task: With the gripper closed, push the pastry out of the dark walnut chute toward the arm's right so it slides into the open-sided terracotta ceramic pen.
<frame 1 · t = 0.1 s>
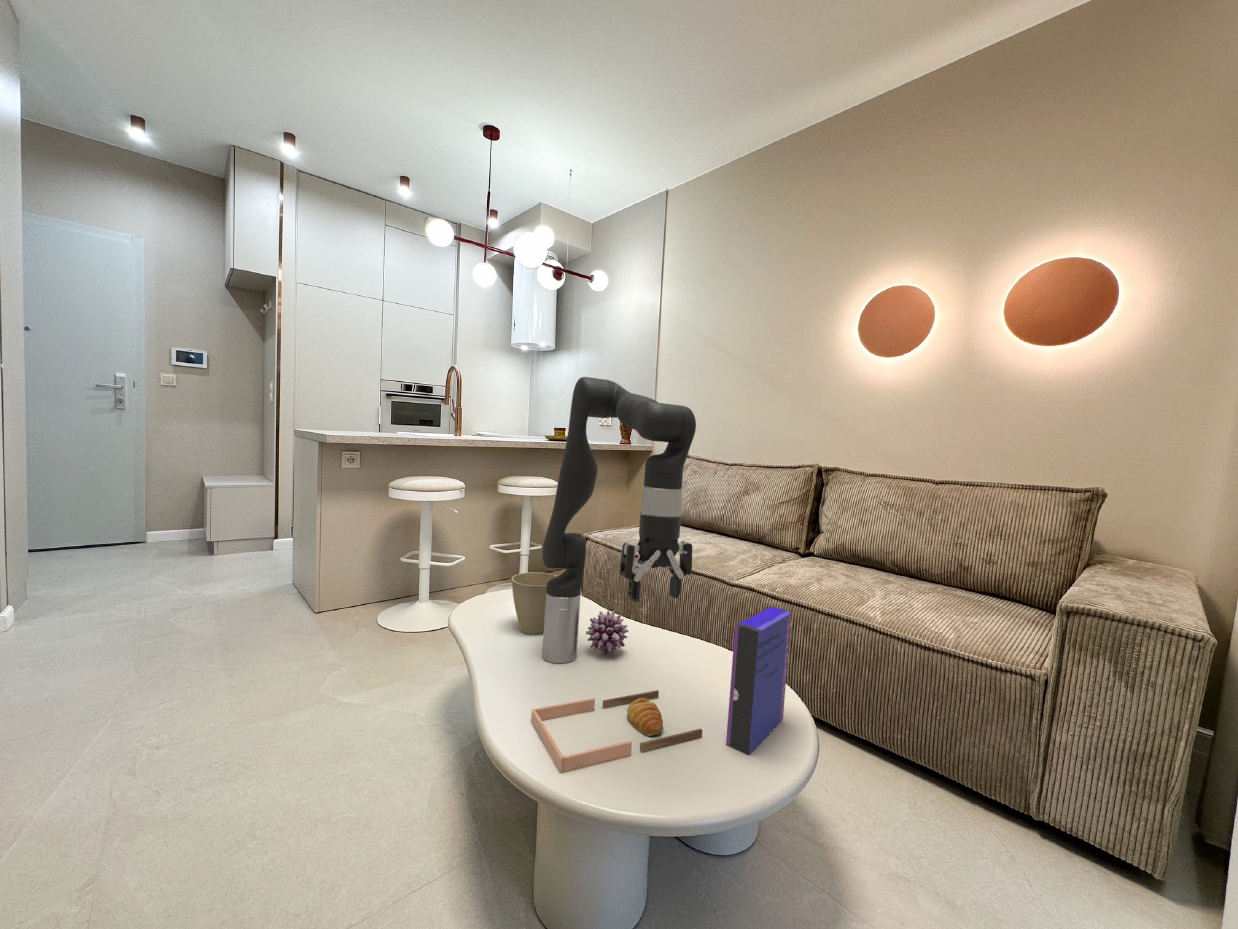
hand: (654, 599, 91), 29 cm above the table, fingers open, 8 cm apart
walnut chute: (649, 721, 103), on the table
plant pot: (533, 631, 149), on the table
cereal box: (755, 733, 102), on the table
pastry: (645, 724, 102), on the table
terracotta pen: (579, 737, 96), on the table
purple spiky ball: (605, 654, 136), on the table
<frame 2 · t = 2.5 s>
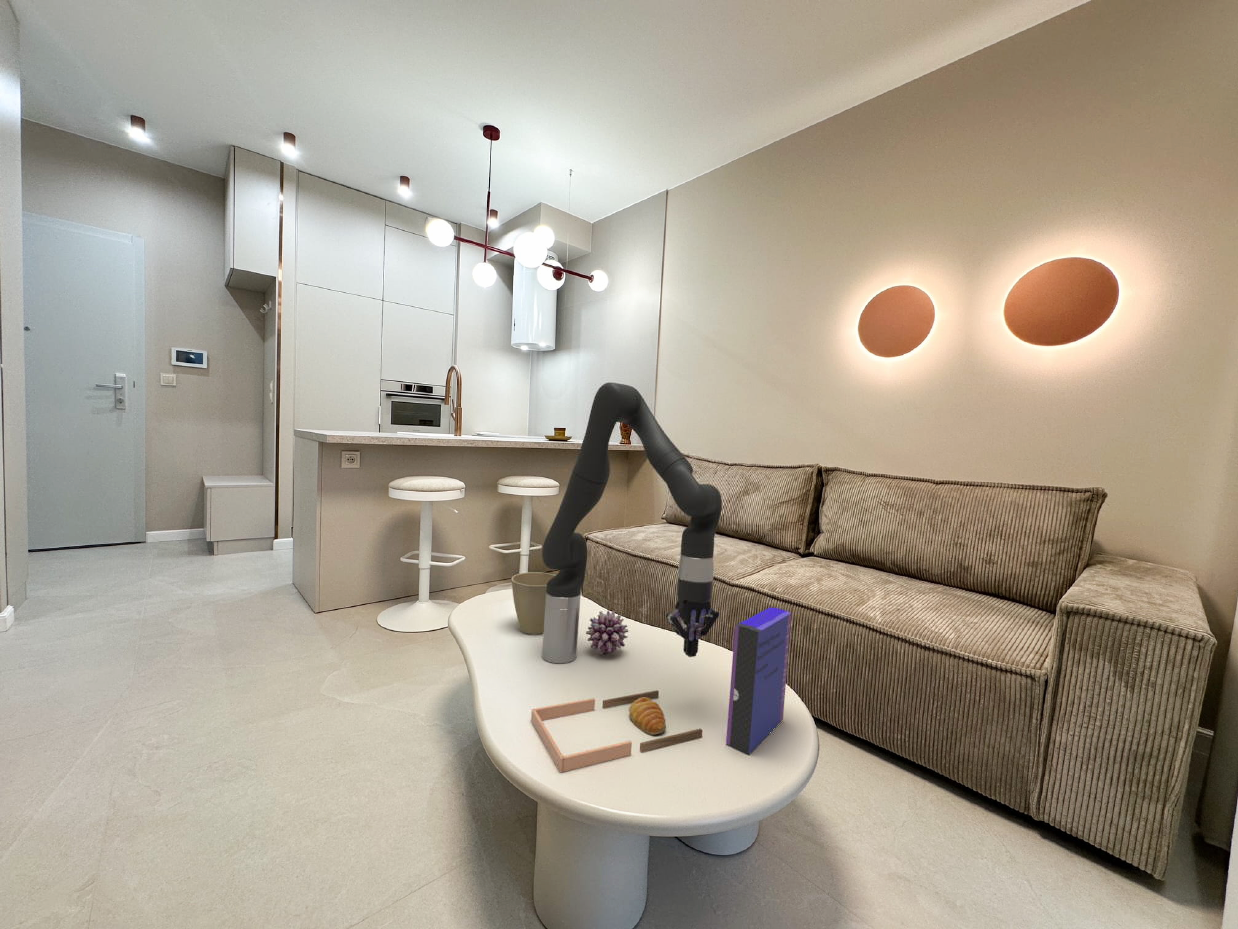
hand: (690, 655, 107), 13 cm above the table, fingers closed
nothing on the table moved.
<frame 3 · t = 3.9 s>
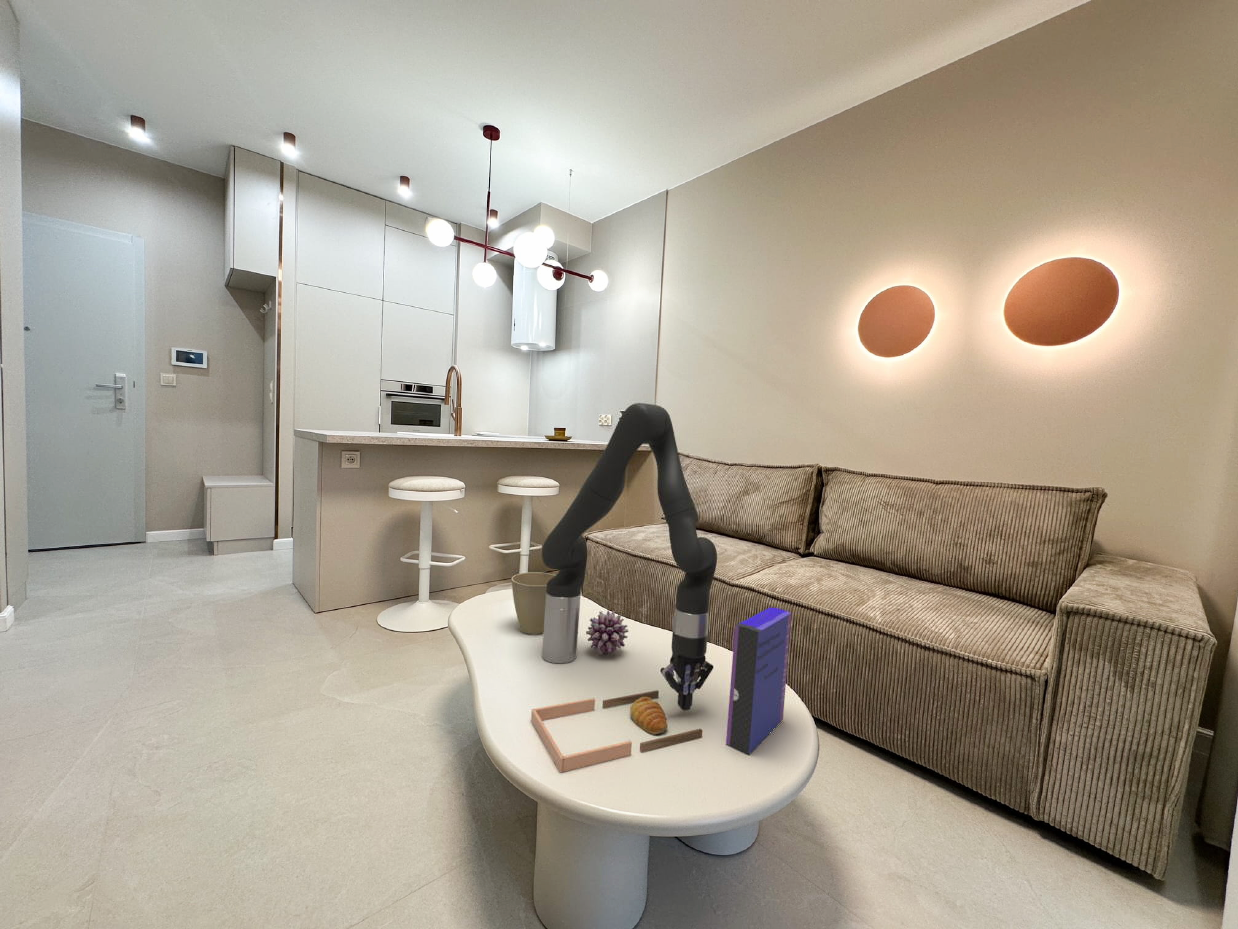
hand: (684, 708, 107), 1 cm above the table, fingers closed
nothing on the table moved.
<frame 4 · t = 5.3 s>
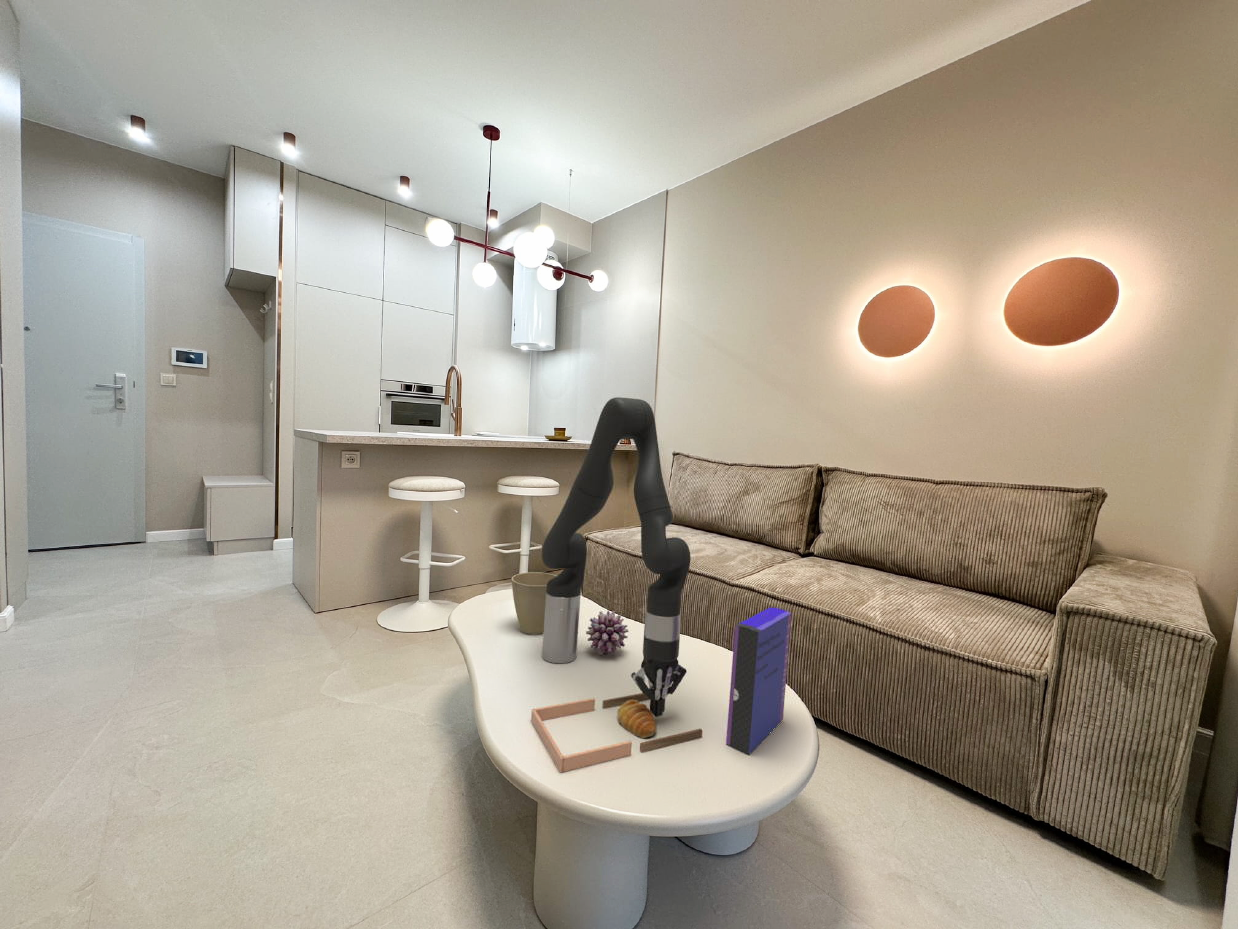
hand: (656, 714, 103), 1 cm above the table, fingers closed
pastry: (637, 726, 102), on the table, touching gripper
everything else where it was.
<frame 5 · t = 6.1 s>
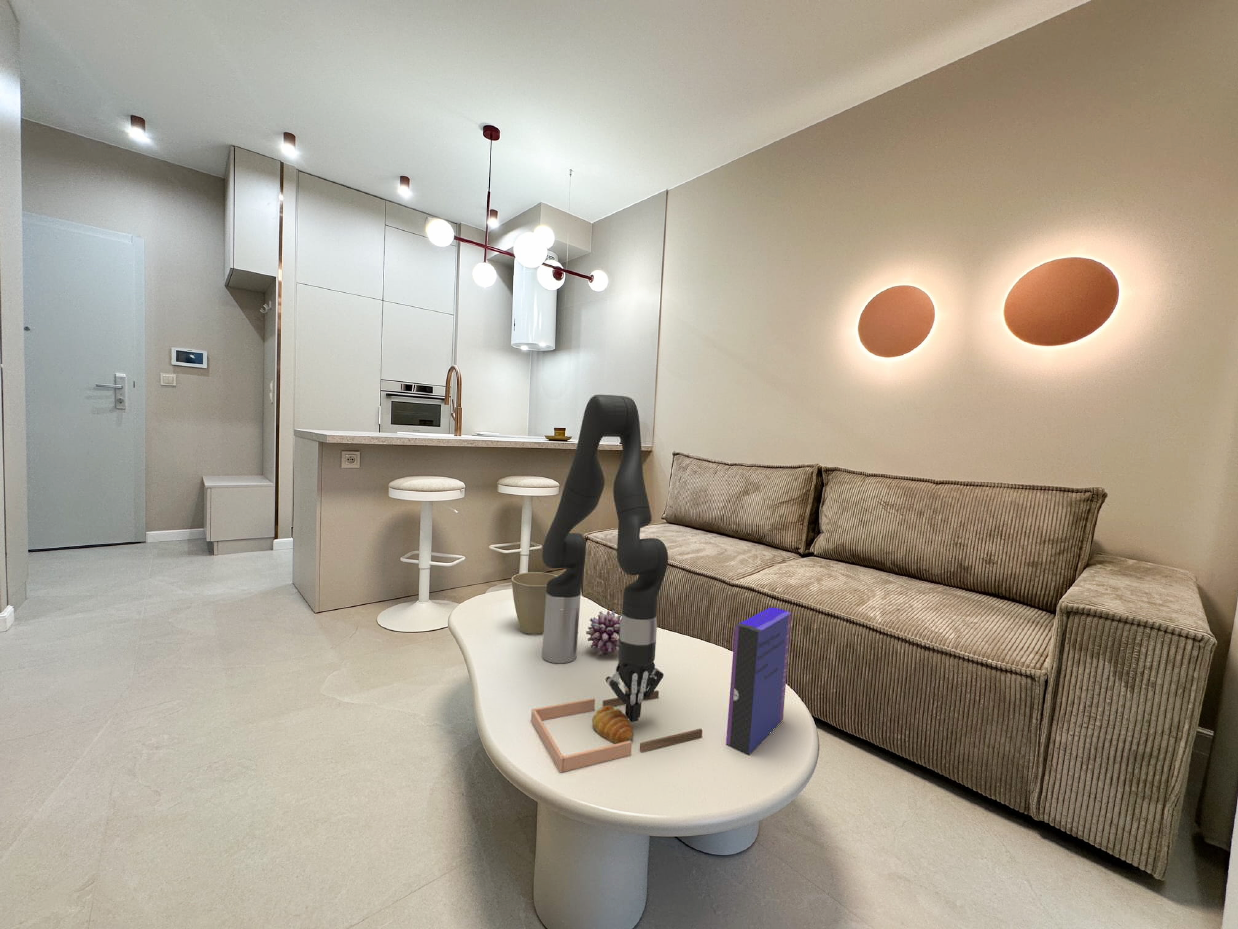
hand: (632, 719, 101), 1 cm above the table, fingers closed
pastry: (613, 733, 99), on the table, touching gripper
everything else where it was.
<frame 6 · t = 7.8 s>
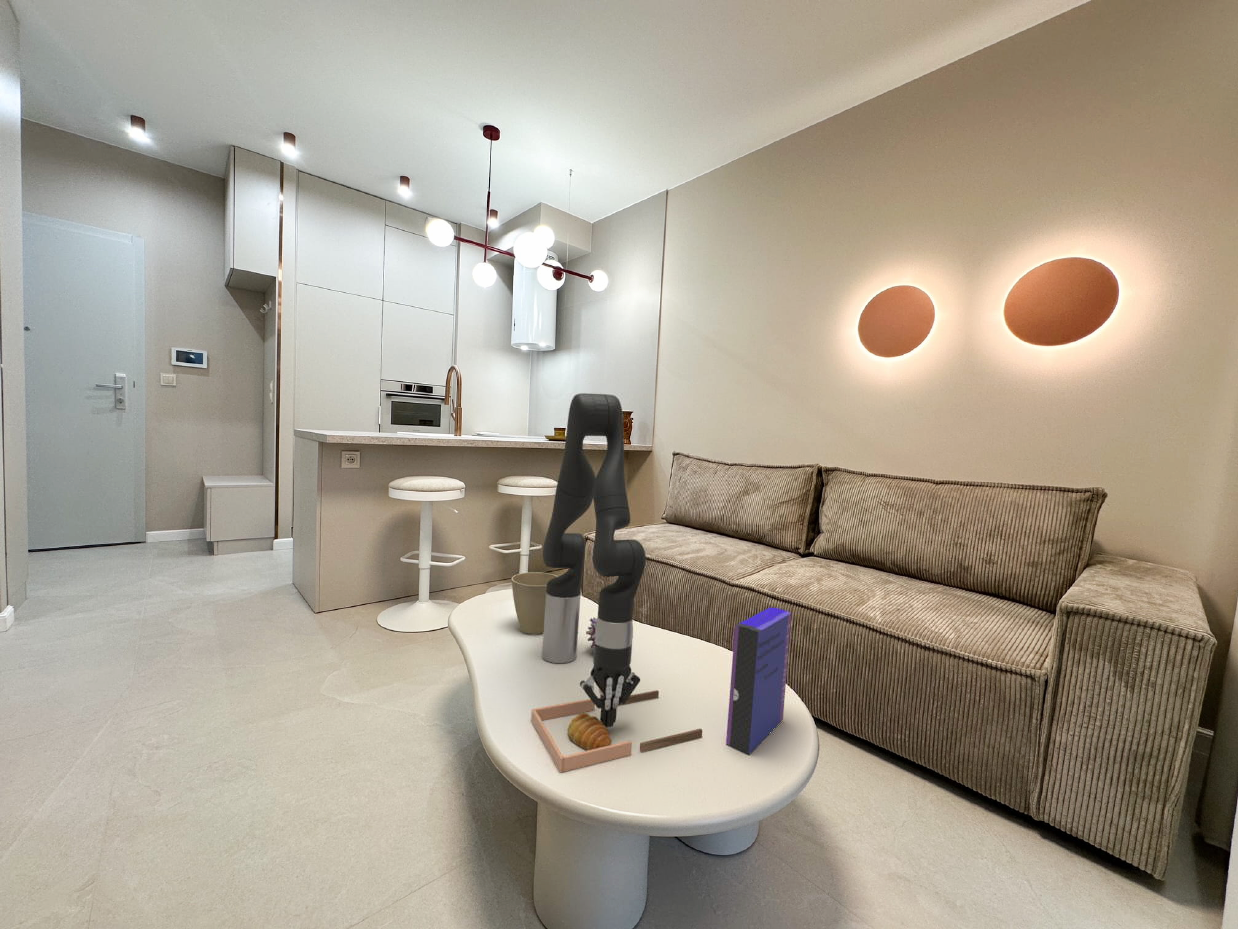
hand: (607, 725, 98), 1 cm above the table, fingers closed
pastry: (589, 741, 95), on the table
everything else where it was.
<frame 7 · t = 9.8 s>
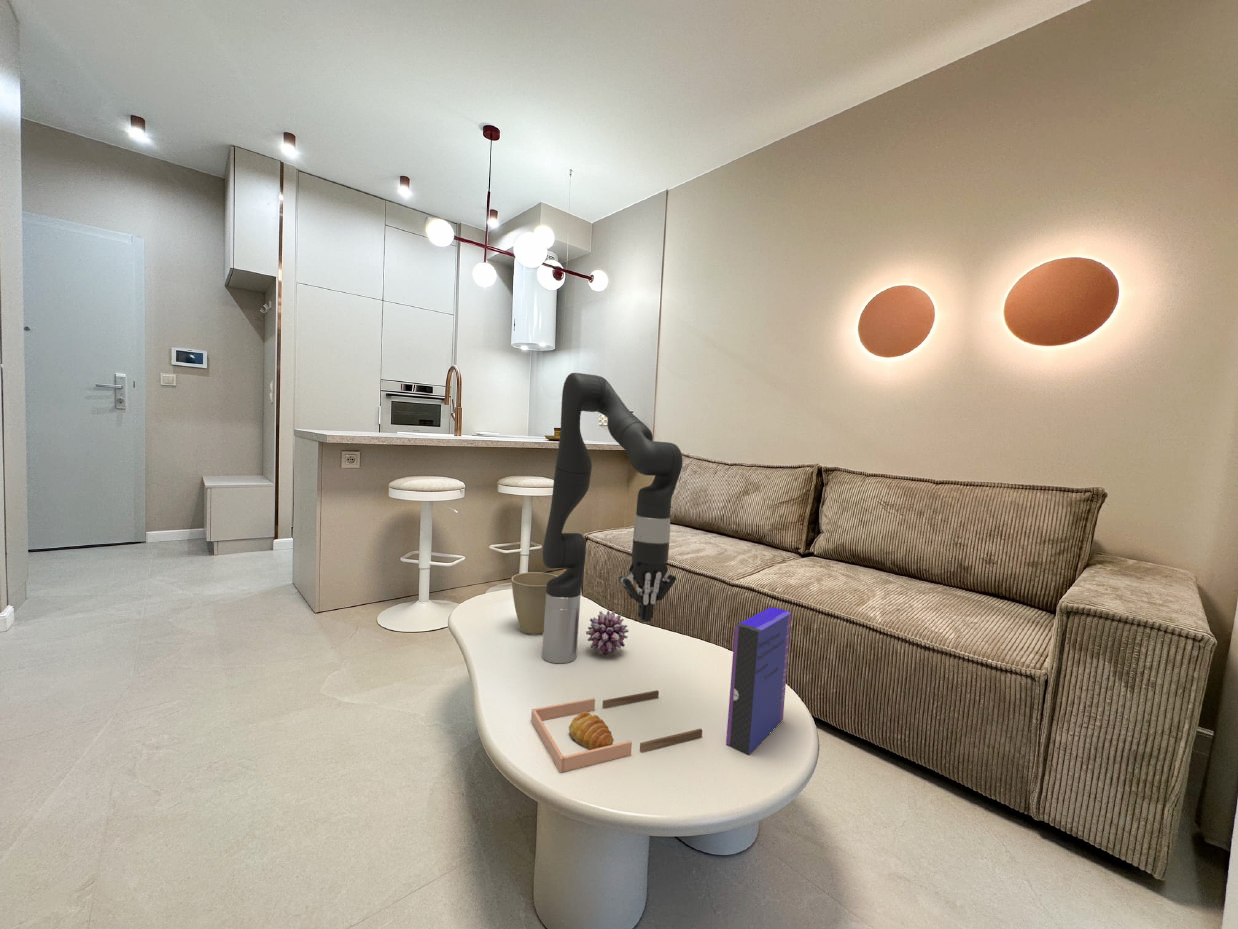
hand: (644, 620, 102), 21 cm above the table, fingers closed
nothing on the table moved.
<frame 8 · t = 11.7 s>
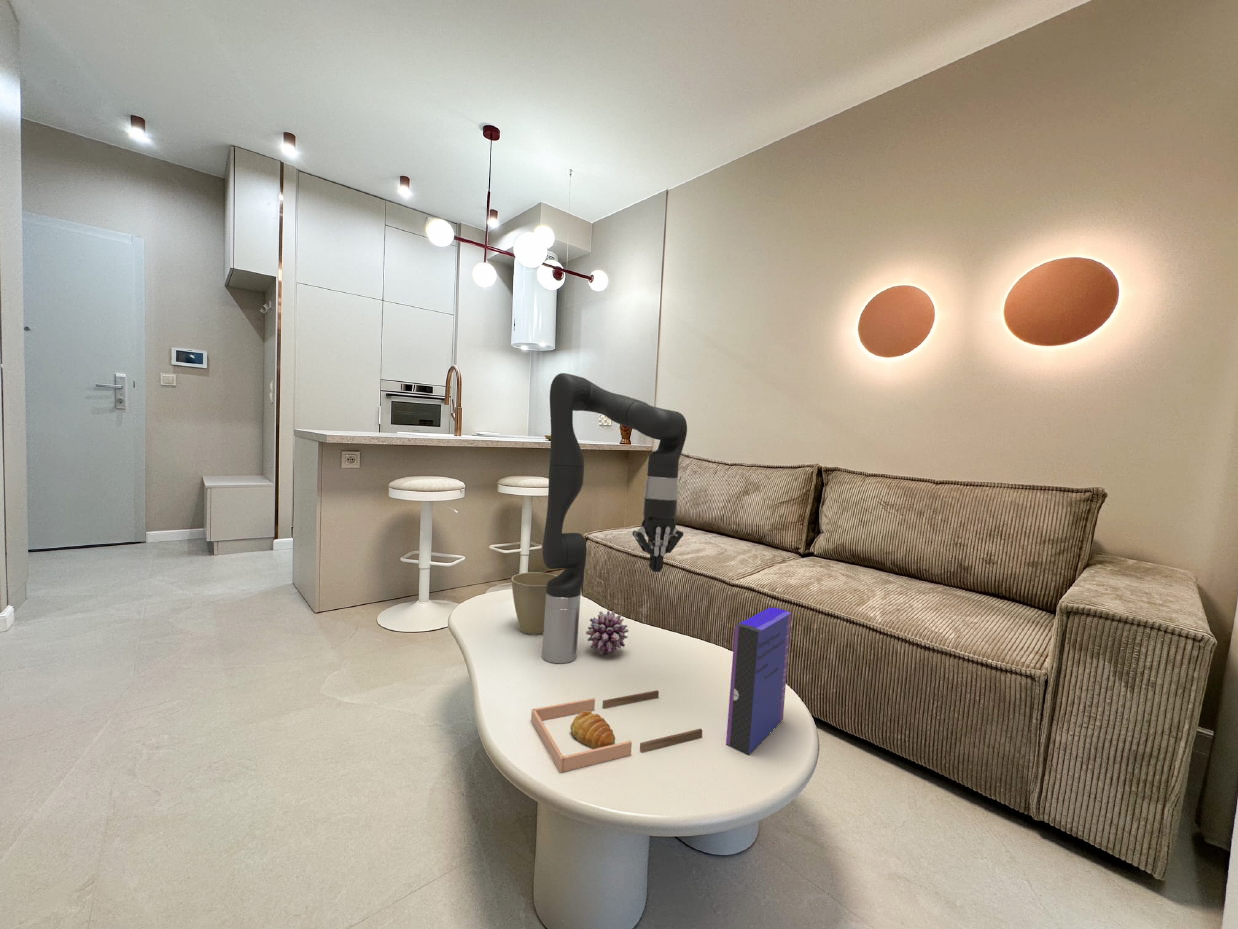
hand: (655, 571, 113), 29 cm above the table, fingers closed
at the end: pastry inside the target area on the terracotta pen (2.7 cm from its centre), point -0.5 cm above the terracotta pen's base; pastry moved 12.4 cm from its start; the gripper is holding nothing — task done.
